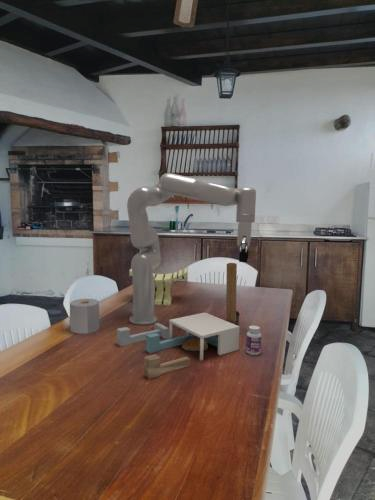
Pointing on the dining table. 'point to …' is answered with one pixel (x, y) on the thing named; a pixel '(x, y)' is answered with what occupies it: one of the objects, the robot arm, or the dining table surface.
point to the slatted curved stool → (168, 282)
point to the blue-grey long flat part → (172, 341)
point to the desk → (209, 331)
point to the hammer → (231, 294)
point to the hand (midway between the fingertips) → (243, 260)
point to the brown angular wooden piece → (162, 365)
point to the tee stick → (127, 339)
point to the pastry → (194, 345)
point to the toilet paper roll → (84, 316)
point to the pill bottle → (253, 340)
